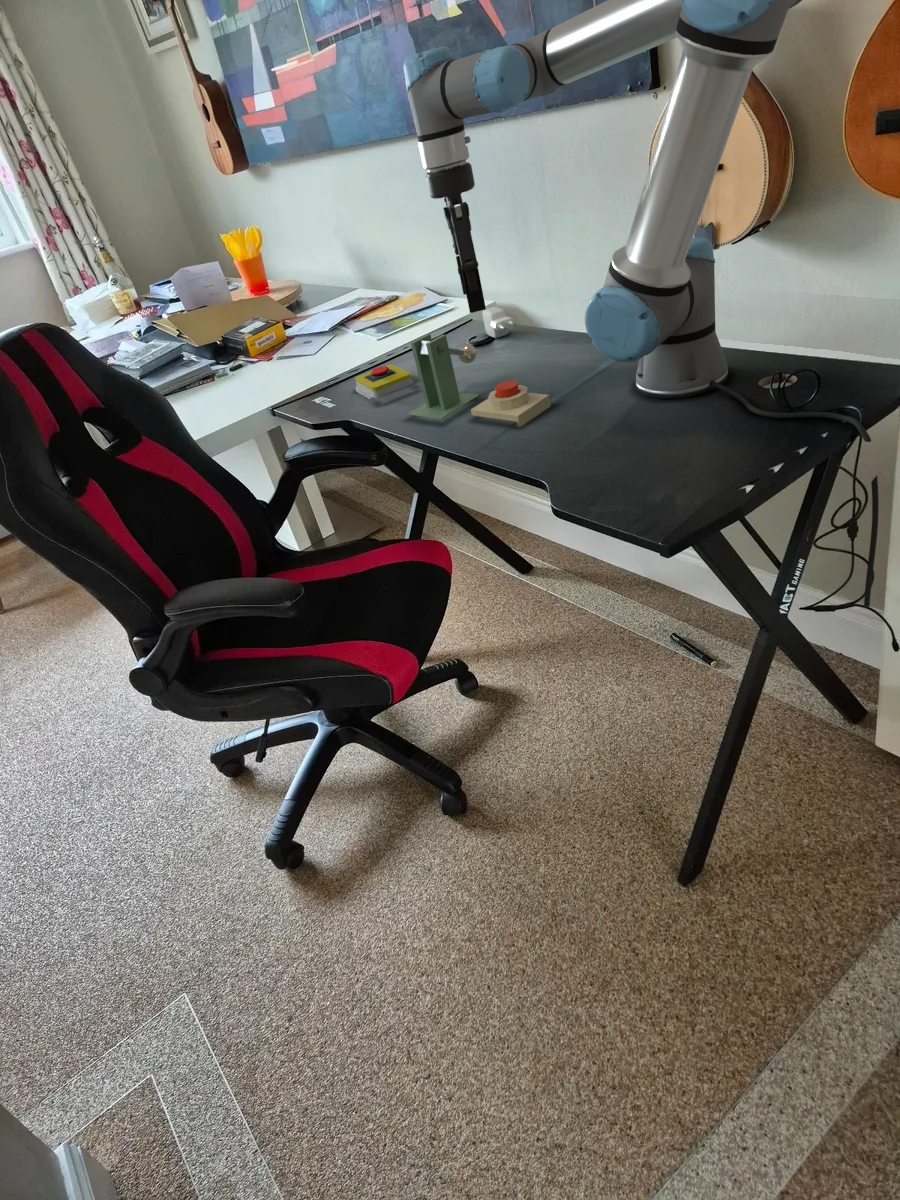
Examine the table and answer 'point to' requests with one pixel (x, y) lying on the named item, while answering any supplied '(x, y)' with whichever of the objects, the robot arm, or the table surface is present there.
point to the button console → (513, 406)
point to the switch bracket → (437, 379)
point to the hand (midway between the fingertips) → (474, 301)
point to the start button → (507, 389)
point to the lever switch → (456, 352)
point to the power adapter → (497, 322)
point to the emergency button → (382, 381)
